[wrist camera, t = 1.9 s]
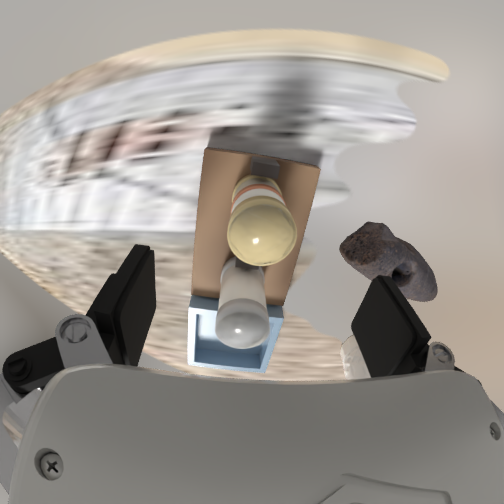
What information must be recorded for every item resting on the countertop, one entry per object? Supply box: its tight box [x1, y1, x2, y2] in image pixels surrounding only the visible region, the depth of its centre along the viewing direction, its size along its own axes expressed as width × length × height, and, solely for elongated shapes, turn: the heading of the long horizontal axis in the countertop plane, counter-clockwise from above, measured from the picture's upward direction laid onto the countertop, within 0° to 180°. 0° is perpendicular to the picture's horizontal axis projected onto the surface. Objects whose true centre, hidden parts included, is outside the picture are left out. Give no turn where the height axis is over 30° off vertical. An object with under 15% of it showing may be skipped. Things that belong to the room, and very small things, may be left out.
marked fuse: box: [227, 174, 297, 266], centre depth 20 cm, size 4×4×8 cm
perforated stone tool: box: [339, 222, 437, 302], centre depth 25 cm, size 15×5×7 cm, turn 59°
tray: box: [188, 295, 284, 373], centre depth 31 cm, size 10×10×3 cm
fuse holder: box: [191, 147, 321, 306], centre depth 25 cm, size 10×15×4 cm, turn 170°
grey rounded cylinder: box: [215, 256, 270, 349], centre depth 24 cm, size 4×4×8 cm
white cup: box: [340, 334, 371, 380], centre depth 31 cm, size 8×8×10 cm
